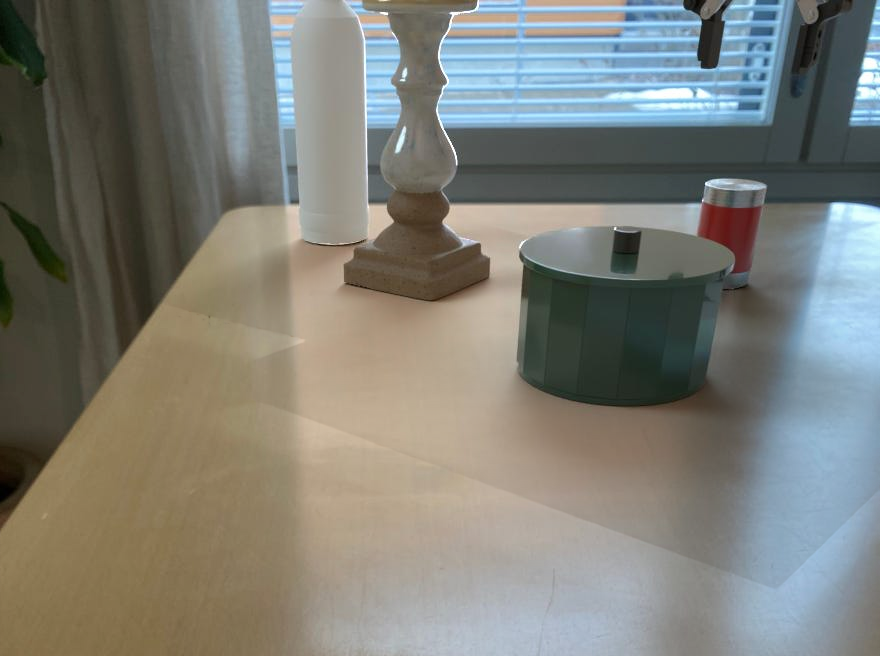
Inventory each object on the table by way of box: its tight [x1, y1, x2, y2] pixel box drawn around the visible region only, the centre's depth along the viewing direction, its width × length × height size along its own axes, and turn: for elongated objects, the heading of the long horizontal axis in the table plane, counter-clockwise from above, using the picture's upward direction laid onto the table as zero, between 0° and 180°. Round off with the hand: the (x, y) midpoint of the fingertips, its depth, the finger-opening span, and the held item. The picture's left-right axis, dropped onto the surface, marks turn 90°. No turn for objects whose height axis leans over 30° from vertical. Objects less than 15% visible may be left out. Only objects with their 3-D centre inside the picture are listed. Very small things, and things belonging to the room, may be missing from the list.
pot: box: [516, 263, 725, 407], centre depth 75 cm, size 15×15×8 cm
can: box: [695, 178, 768, 290], centre depth 95 cm, size 6×6×9 cm
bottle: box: [289, 0, 370, 244], centre depth 104 cm, size 8×8×30 cm
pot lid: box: [518, 225, 735, 289], centre depth 72 cm, size 16×16×3 cm
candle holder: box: [343, 0, 491, 301], centre depth 91 cm, size 11×11×24 cm
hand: (752, 71), depth 87 cm, fingers open, 8 cm apart
